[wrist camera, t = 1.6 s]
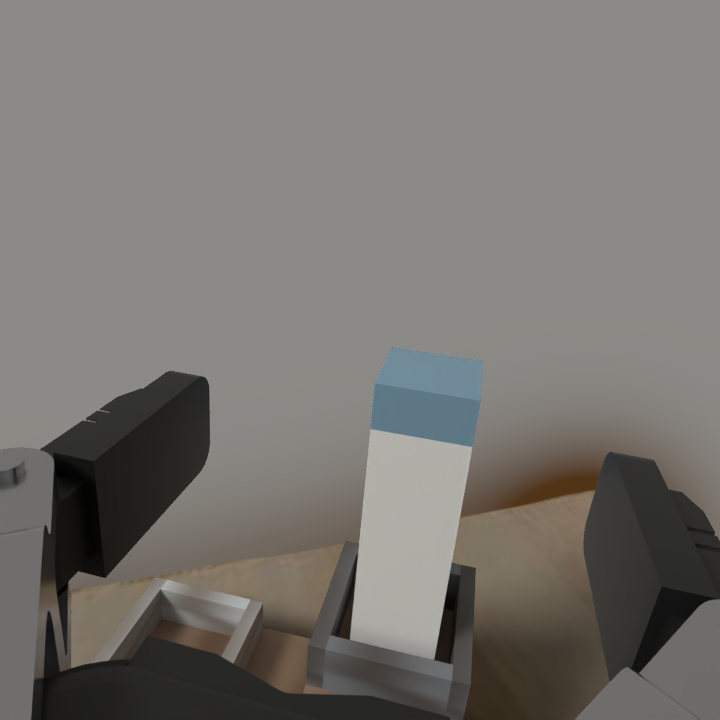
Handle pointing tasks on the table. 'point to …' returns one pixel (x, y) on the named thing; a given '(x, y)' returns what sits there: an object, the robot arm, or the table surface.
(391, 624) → the plug
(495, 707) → the table surface
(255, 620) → the square socket stand
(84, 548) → the robot arm
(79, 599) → the table surface
